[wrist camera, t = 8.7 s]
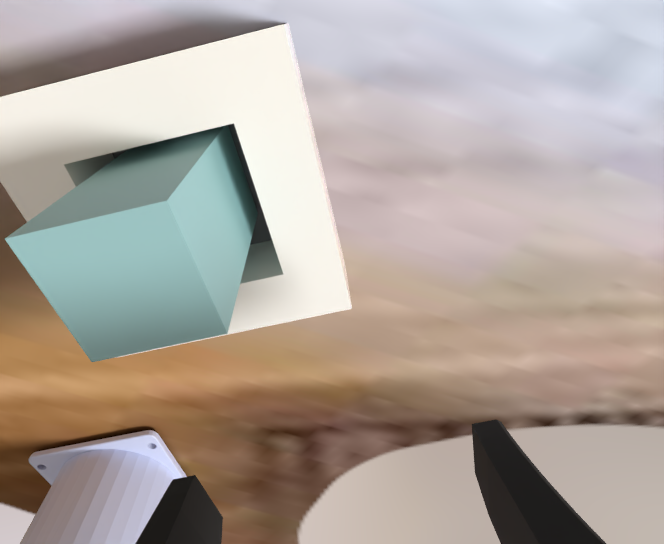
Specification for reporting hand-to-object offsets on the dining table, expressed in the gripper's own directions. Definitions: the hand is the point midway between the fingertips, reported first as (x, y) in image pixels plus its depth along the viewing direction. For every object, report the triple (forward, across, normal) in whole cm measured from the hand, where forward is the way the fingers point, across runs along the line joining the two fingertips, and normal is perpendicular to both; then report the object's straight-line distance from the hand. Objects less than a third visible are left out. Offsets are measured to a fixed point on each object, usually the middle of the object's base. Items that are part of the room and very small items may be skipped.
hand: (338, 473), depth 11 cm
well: (+10, +4, -5) cm, 12 cm away
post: (+10, +4, -6) cm, 12 cm away
